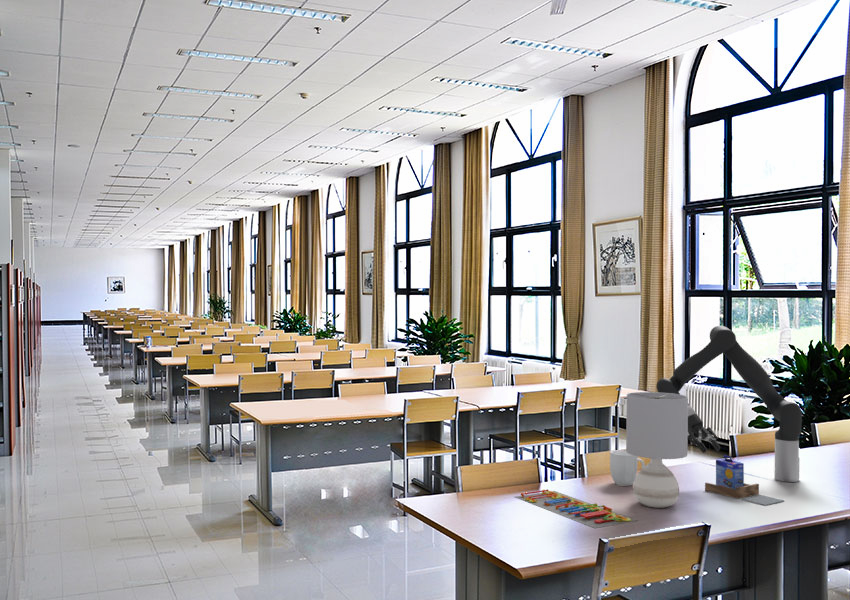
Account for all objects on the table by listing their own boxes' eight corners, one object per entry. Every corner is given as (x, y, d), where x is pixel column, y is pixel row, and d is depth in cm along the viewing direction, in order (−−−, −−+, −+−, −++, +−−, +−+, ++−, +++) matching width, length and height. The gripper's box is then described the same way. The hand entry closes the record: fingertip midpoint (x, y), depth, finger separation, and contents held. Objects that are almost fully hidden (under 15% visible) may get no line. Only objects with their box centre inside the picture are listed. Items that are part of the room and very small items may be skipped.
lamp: (644, 494, 298) (645, 390, 298) (697, 505, 282) (698, 396, 282) (614, 504, 282) (615, 395, 282) (668, 516, 267) (669, 401, 267)
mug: (637, 480, 321) (638, 449, 321) (651, 486, 310) (651, 454, 310) (605, 481, 318) (605, 450, 318) (617, 488, 307) (617, 455, 307)
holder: (725, 486, 312) (725, 476, 312) (758, 494, 299) (758, 484, 299) (705, 490, 305) (705, 480, 305) (738, 498, 292) (738, 488, 292)
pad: (760, 495, 297) (760, 494, 297) (784, 501, 289) (784, 500, 289) (741, 499, 291) (741, 498, 291) (765, 505, 282) (765, 504, 282)
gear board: (637, 514, 262) (594, 522, 252) (637, 522, 262) (594, 530, 252) (554, 486, 301) (514, 492, 292) (554, 492, 301) (514, 498, 292)
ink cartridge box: (714, 489, 306) (715, 453, 306) (724, 488, 309) (725, 452, 309) (734, 495, 297) (734, 458, 297) (744, 494, 300) (744, 457, 300)
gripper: (683, 414, 313) (706, 447, 304) (705, 411, 321) (729, 443, 312) (672, 425, 318) (695, 458, 308) (694, 422, 326) (717, 454, 316)
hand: (712, 450), depth 310 cm, fingers open, 8 cm apart
